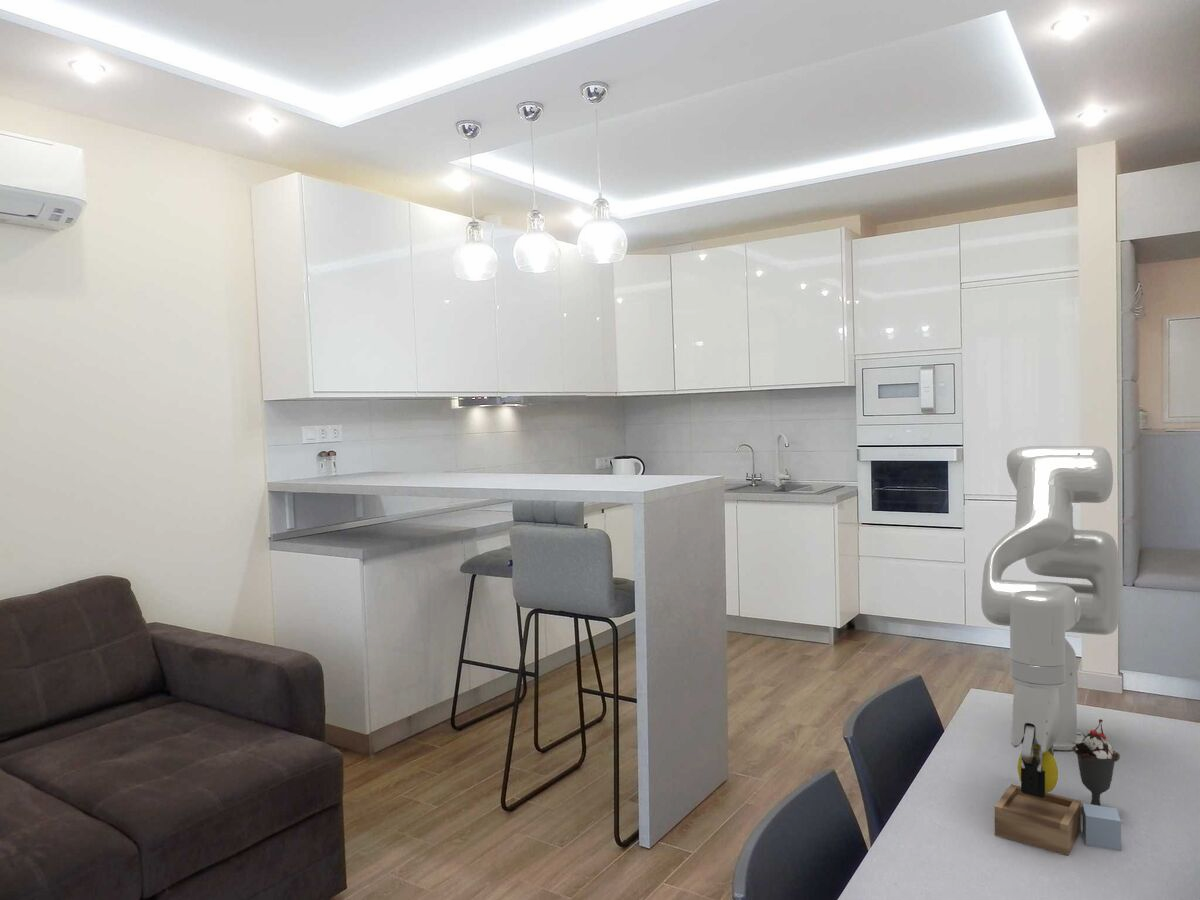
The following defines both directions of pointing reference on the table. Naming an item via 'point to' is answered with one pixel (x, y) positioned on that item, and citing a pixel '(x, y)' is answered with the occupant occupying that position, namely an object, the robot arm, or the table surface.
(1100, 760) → the sundae
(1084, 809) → the slate cube
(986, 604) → the robot arm
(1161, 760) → the table surface
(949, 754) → the table surface
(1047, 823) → the wooden open box
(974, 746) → the table surface
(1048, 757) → the lemon
